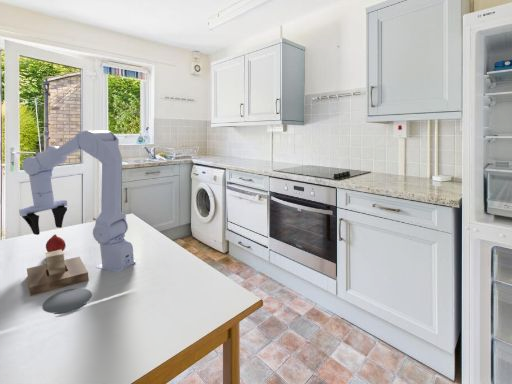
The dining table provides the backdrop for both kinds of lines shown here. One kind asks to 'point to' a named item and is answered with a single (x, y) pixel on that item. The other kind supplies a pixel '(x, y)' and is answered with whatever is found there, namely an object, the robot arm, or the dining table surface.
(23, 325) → the dining table surface
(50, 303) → the coaster
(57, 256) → the peg
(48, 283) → the pocket block
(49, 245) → the red rounded piece
